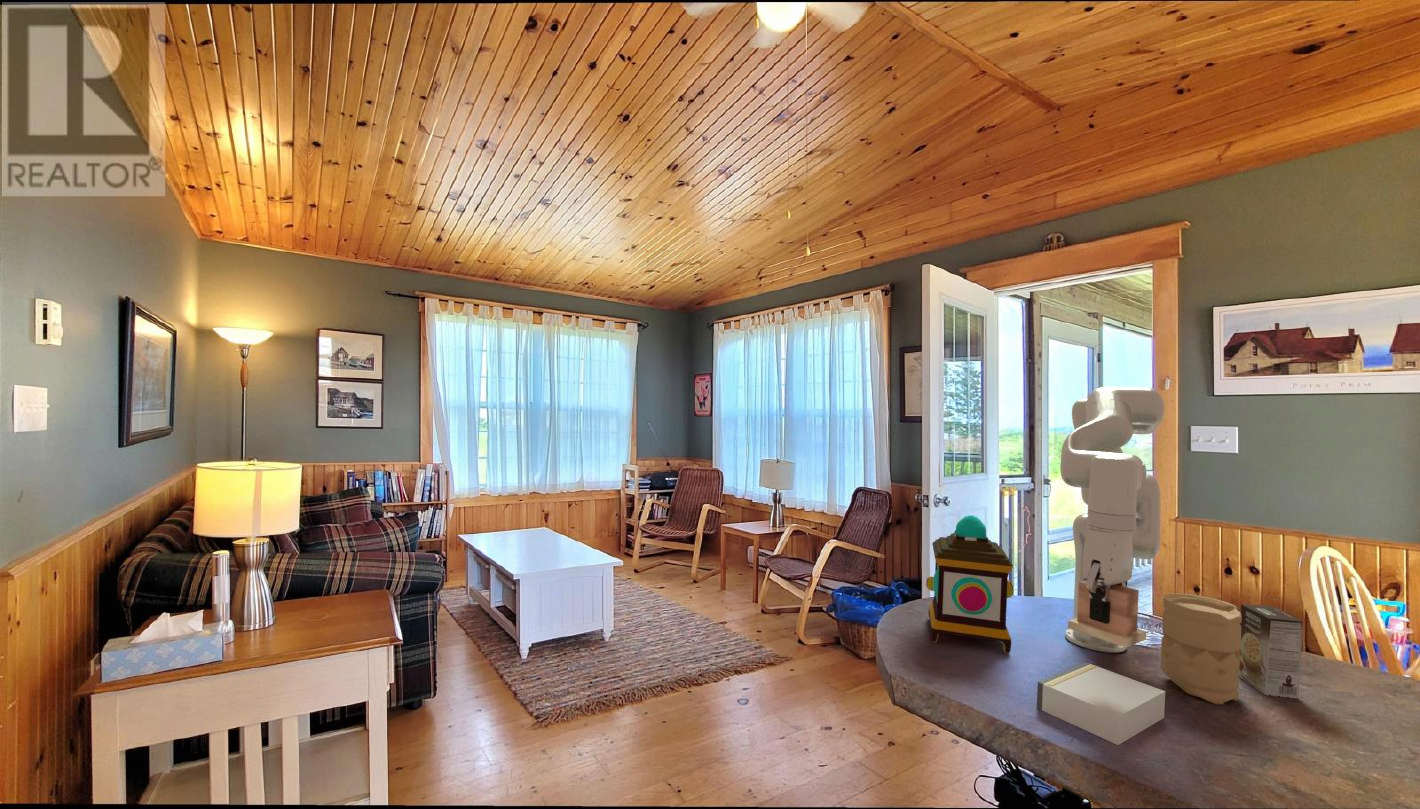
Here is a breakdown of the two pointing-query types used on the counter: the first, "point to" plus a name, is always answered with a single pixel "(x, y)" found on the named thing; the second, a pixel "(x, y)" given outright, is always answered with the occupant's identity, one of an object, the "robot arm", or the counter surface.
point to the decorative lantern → (970, 585)
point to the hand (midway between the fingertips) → (1106, 617)
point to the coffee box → (1270, 650)
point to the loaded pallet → (1107, 634)
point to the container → (1202, 646)
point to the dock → (1101, 702)
